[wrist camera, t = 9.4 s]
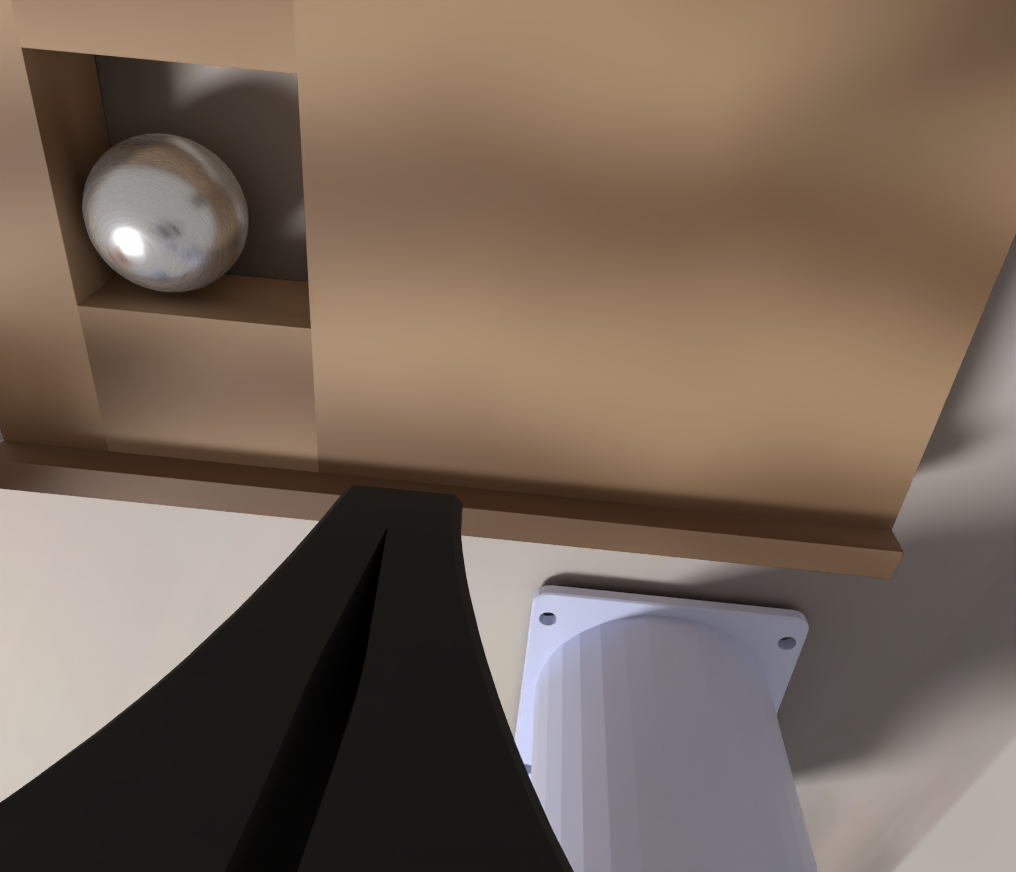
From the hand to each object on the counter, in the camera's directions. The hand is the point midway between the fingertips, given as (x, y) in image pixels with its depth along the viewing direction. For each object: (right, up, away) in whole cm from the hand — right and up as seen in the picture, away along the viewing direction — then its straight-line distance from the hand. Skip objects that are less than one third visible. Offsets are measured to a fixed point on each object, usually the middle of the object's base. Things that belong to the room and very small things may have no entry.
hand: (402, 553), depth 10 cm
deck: (0, +7, +8) cm, 10 cm away
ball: (-6, +6, +7) cm, 11 cm away
